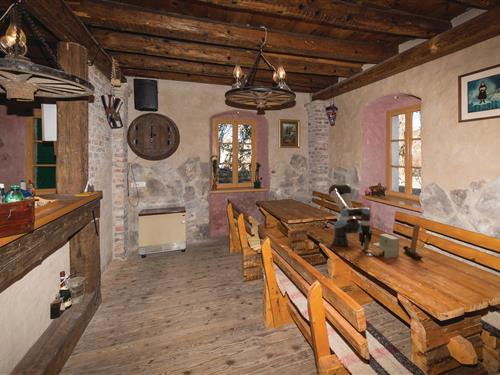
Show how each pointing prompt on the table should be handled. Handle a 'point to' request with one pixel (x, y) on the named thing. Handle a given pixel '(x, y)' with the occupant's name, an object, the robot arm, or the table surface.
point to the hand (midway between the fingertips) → (364, 248)
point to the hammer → (413, 243)
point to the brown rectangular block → (366, 241)
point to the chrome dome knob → (369, 254)
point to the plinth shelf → (388, 245)
